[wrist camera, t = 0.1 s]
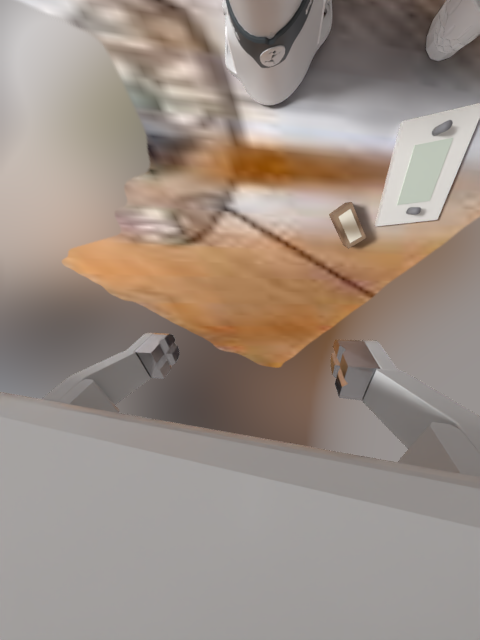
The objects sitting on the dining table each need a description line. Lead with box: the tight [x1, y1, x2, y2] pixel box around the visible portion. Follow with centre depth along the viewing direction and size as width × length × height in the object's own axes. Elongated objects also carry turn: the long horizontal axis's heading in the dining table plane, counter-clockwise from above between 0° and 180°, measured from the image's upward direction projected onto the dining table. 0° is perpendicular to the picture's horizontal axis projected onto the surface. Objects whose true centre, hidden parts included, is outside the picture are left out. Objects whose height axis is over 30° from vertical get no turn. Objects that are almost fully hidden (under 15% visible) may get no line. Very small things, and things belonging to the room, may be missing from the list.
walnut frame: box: [329, 202, 366, 248], centre depth 43 cm, size 9×4×5 cm, turn 38°
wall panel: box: [375, 103, 480, 226], centre depth 36 cm, size 18×12×4 cm, turn 7°
